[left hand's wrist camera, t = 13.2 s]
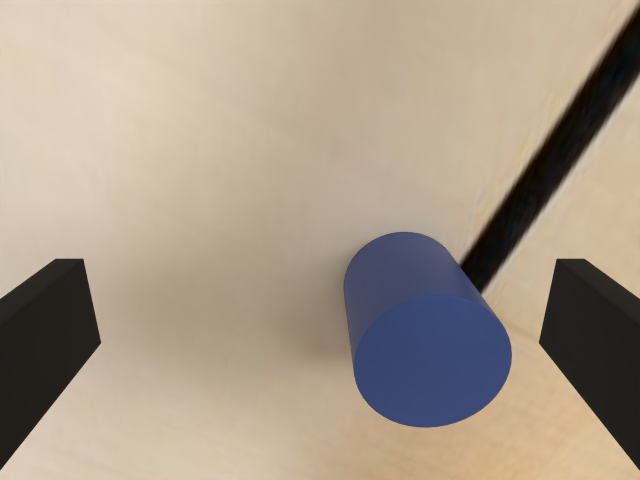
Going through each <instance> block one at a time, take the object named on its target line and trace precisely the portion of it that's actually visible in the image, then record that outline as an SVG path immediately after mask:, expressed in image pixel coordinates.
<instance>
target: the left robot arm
mask: <svg viewBox="0 0 640 480" xmlns="http://www.w3.org/2000/svg"><path fill="white" fill-rule="evenodd" d="M100 344H101V340H100V335H99V331H98V326H97V321H96V316H95V312H94V307H93V302H92V298H91V293H90V288H89V284H88V279H87V274H86V269H85V265H84V260H83V259H55V260H53V261H52V262H50V263H49V264H48V265H46V266H45V267H44V268H42V269H41V270H39V271H38V272H37V273H35V274H34V275H33V276H31V277H30V278H28V279H27V280H26V281H24V282H23V283H22V284H20V285H19V286H17V287H16V288H15V289H13V290H12V291H11V292H9V293H8V294H6V295H5V296H4V297H2V298H1V299H0V470H1V469H2V468H3V466H4V465H5V464H6V463H7V461H8V460H9V459H10V457H11V456H12V455H13V454H14V452H15V451H16V450H17V449H18V447H19V446H20V445H21V444H22V442H23V441H24V440H25V439H26V437H27V436H28V435H29V433H30V432H31V431H32V430H33V428H34V427H35V426H36V425H37V423H38V422H39V421H40V420H41V418H42V417H43V416H44V415H45V413H46V412H47V411H48V409H49V408H50V407H51V406H52V404H53V403H54V402H55V401H56V399H57V398H58V397H59V396H60V394H61V393H62V392H63V391H64V389H65V388H66V387H67V385H68V384H69V383H70V382H71V380H72V379H73V378H74V377H75V375H76V374H77V373H78V372H79V370H80V369H81V368H82V367H83V365H84V364H85V363H86V361H87V360H88V359H89V358H90V356H91V355H92V354H93V353H94V351H95V350H96V349H97V348H98V346H99V345H100ZM539 344H540V345H541V346H542V348H543V349H544V350H545V351H546V353H547V354H548V355H549V356H550V358H551V359H552V360H553V361H554V363H555V364H556V365H557V367H558V368H559V369H560V370H561V372H562V373H563V374H564V375H565V377H566V378H567V379H568V380H569V382H570V383H571V384H572V385H573V387H574V388H575V389H576V391H577V392H578V393H579V394H580V396H581V397H582V398H583V399H584V401H585V402H586V403H587V404H588V406H589V407H590V408H591V409H592V411H593V412H594V413H595V415H596V416H597V417H598V418H599V420H600V421H601V422H602V423H603V425H604V426H605V427H606V428H607V430H608V431H609V432H610V433H611V435H612V436H613V437H614V439H615V440H616V441H617V442H618V444H619V445H620V446H621V447H622V449H623V450H624V451H625V452H626V454H627V455H628V456H629V457H630V459H631V460H632V461H633V463H634V464H635V465H636V466H637V468H638V469H639V470H640V299H639V298H638V297H636V296H635V295H634V294H632V293H631V292H629V291H628V290H627V289H625V288H624V287H623V286H621V285H620V284H618V283H617V282H616V281H614V280H613V279H612V278H610V277H609V276H607V275H606V274H605V273H603V272H602V271H601V270H599V269H598V268H596V267H595V266H594V265H592V264H591V263H590V262H588V261H587V260H585V259H557V260H556V265H555V269H554V274H553V279H552V284H551V288H550V293H549V298H548V302H547V307H546V312H545V316H544V321H543V326H542V331H541V335H540V340H539Z"/></svg>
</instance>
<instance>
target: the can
mask: <svg viewBox="0 0 640 480" xmlns="http://www.w3.org/2000/svg"><path fill="white" fill-rule="evenodd" d="M344 296H345V304H346V312H347V321H348V329H349V337H350V345H351V353H352V361H353V369H354V376H355V380H356V384H357V387H358V389H359V391H360V393H361V395H362V396H363V398H364V399H365V401H366V402H367V403H368V404H369V405H370V406H371V407H372V408H373V409H374V410H375V411H376V412H378V413H379V414H381V415H382V416H384V417H385V418H387V419H389V420H391V421H394V422H397V423H399V424H403V425H407V426H413V427H439V426H444V425H449V424H452V423H456V422H459V421H461V420H464V419H466V418H468V417H470V416H472V415H474V414H475V413H477V412H478V411H480V410H481V409H483V408H484V407H485V406H486V405H487V404H489V403H490V402H491V401H492V400H493V399H494V398H495V397H496V395H497V394H498V393H499V391H500V390H501V389H502V387H503V385H504V383H505V381H506V379H507V377H508V374H509V371H510V366H511V358H512V352H511V344H510V340H509V337H508V334H507V332H506V330H505V328H504V326H503V325H502V323H501V322H500V320H499V319H498V318H497V316H496V315H495V314H494V312H493V311H492V310H491V308H490V307H489V306H488V304H487V303H486V301H485V300H484V299H483V297H482V296H481V295H480V293H479V292H478V291H477V289H476V288H475V287H474V285H473V284H472V283H471V281H470V280H469V279H468V277H467V276H466V274H465V273H464V272H463V270H462V269H461V268H460V266H459V265H458V264H457V262H456V261H455V260H454V258H453V257H452V256H451V254H450V253H449V252H448V251H447V249H446V248H445V247H444V246H442V245H441V244H440V243H439V242H437V241H436V240H434V239H432V238H430V237H428V236H425V235H422V234H418V233H412V232H399V233H392V234H388V235H385V236H382V237H379V238H377V239H375V240H373V241H372V242H370V243H368V244H367V245H366V246H364V247H363V248H362V249H361V250H360V251H359V252H358V253H357V254H356V255H355V257H354V258H353V260H352V261H351V263H350V265H349V267H348V269H347V272H346V275H345V279H344Z"/></svg>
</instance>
